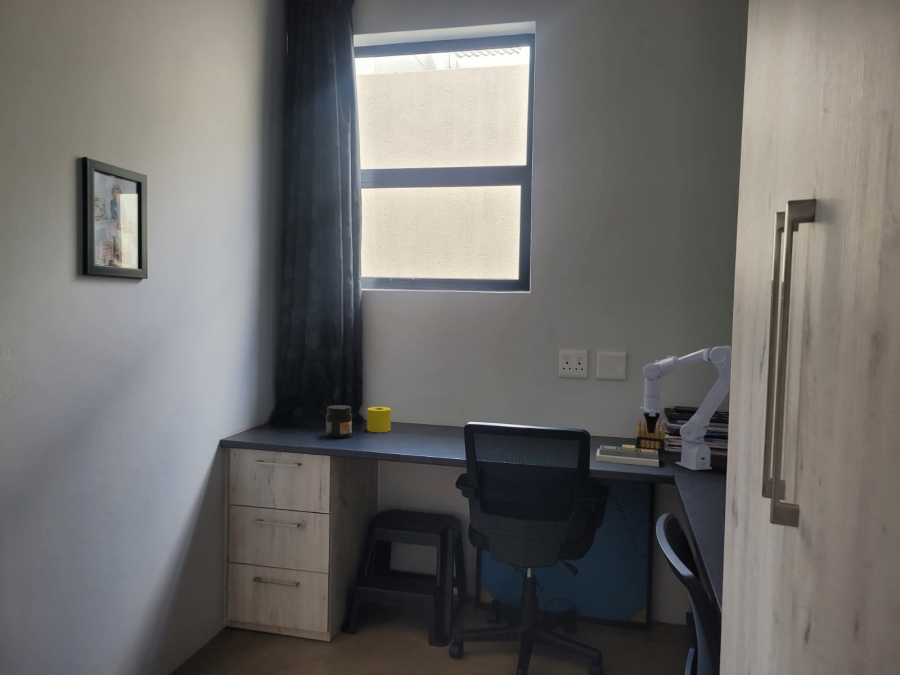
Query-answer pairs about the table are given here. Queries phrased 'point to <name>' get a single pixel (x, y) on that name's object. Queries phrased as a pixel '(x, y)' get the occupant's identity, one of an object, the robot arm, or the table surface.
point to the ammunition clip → (651, 437)
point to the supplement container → (338, 421)
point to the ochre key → (628, 448)
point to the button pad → (627, 457)
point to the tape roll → (379, 419)
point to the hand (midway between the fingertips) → (650, 432)
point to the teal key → (609, 448)
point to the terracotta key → (647, 451)
